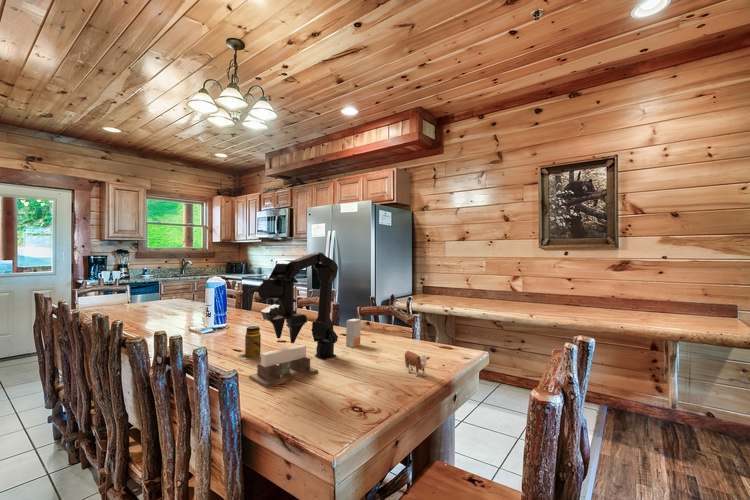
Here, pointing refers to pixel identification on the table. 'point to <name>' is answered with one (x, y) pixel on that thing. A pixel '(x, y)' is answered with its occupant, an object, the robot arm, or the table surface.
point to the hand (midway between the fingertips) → (285, 340)
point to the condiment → (252, 343)
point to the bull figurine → (415, 362)
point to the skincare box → (353, 332)
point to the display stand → (282, 372)
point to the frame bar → (283, 355)
